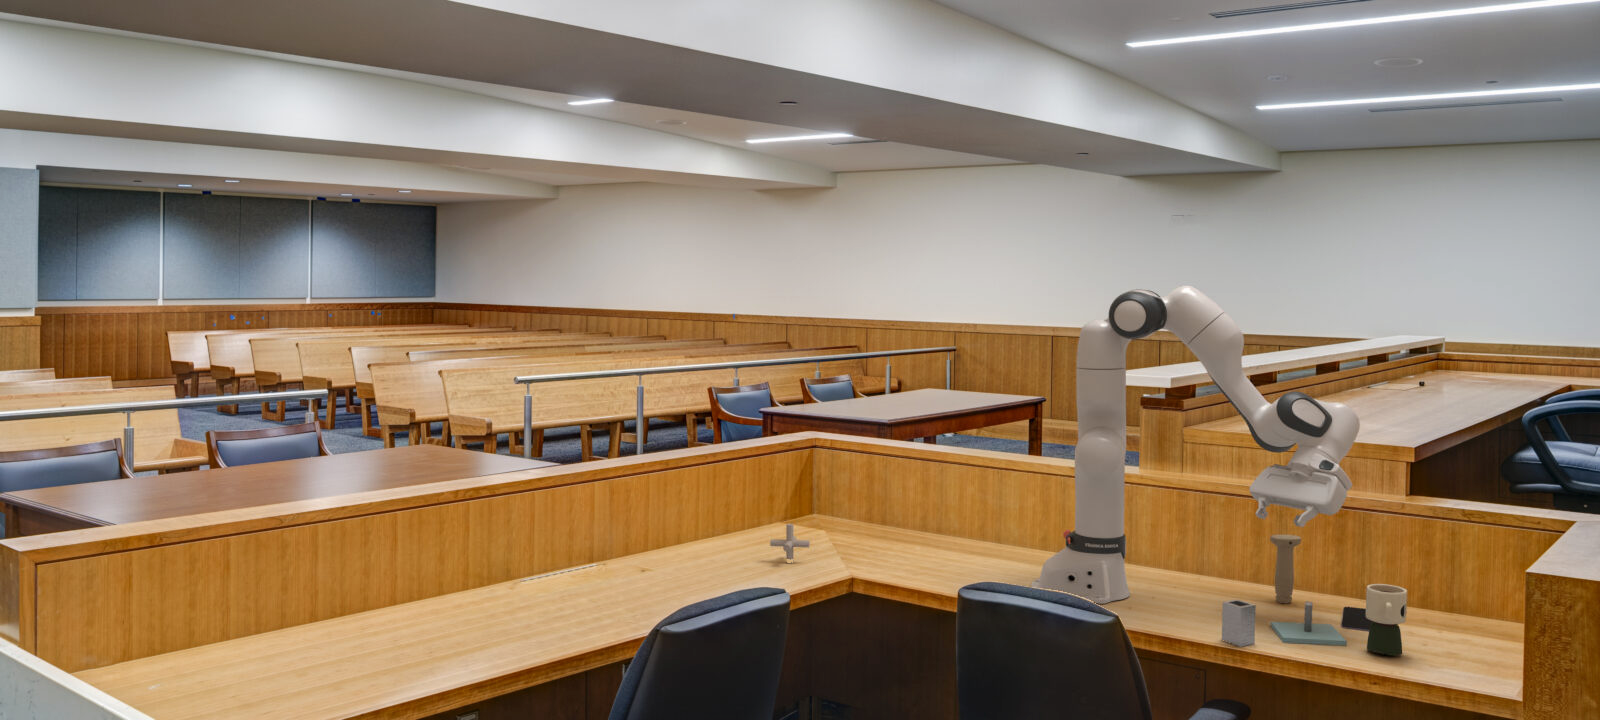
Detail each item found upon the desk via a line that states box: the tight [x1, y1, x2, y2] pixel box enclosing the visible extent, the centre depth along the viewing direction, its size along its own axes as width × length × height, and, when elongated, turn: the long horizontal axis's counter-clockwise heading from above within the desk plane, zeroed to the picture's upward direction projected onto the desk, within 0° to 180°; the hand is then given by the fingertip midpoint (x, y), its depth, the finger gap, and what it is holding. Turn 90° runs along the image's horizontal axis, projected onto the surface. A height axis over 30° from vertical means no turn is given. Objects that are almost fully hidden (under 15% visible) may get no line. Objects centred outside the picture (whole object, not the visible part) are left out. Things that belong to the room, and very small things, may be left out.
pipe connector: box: [769, 523, 810, 560], centre depth 295 cm, size 10×10×10 cm
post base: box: [1270, 601, 1347, 647], centre depth 236 cm, size 12×11×7 cm
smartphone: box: [1340, 606, 1374, 632], centre depth 247 cm, size 7×1×15 cm
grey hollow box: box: [1221, 598, 1257, 648], centre depth 232 cm, size 4×5×8 cm
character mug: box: [1365, 583, 1408, 656], centre depth 225 cm, size 11×7×13 cm, turn 159°
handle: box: [1270, 534, 1302, 604], centre depth 260 cm, size 5×6×15 cm
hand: (1278, 520), depth 239 cm, fingers open, 8 cm apart
